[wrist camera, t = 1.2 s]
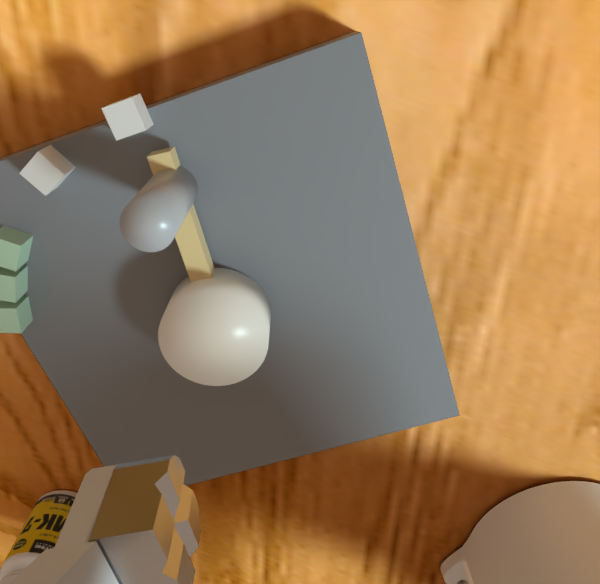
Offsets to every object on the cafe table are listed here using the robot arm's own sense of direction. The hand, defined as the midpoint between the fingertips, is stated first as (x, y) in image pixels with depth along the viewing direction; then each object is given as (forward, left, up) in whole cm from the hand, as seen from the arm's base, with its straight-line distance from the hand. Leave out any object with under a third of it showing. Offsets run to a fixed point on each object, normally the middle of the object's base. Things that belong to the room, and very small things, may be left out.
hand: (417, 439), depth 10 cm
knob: (-3, +9, -22) cm, 24 cm away
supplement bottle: (-21, +28, -26) cm, 43 cm away
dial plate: (-7, +9, -25) cm, 28 cm away
